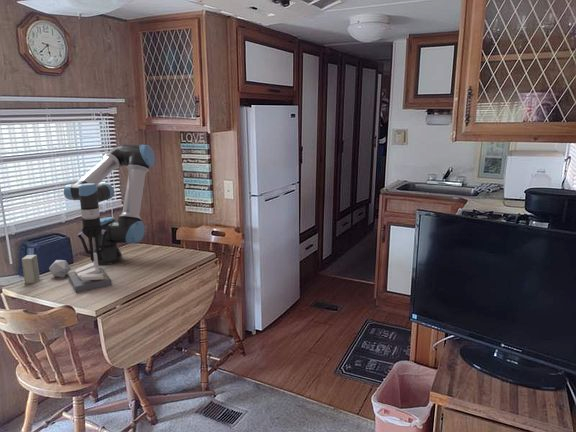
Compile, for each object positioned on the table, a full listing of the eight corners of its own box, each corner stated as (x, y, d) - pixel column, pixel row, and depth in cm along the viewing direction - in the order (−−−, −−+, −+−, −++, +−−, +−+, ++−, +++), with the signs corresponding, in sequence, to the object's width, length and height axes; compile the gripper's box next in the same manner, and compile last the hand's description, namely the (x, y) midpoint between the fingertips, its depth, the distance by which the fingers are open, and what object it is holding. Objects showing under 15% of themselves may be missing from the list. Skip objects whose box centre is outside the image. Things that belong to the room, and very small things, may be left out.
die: (55, 281, 206) (66, 264, 206) (42, 271, 207) (53, 254, 208) (66, 281, 214) (77, 265, 214) (53, 272, 215) (64, 255, 216)
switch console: (68, 279, 207) (67, 271, 206) (102, 272, 215) (101, 265, 215) (75, 293, 190) (74, 285, 189) (111, 285, 198) (111, 277, 198)
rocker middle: (77, 276, 201) (76, 273, 201) (97, 269, 206) (97, 266, 206) (79, 278, 198) (78, 276, 197) (99, 271, 202) (98, 269, 202)
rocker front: (80, 277, 195) (80, 274, 195) (101, 276, 201) (101, 273, 200) (81, 280, 192) (82, 277, 192) (103, 279, 197) (103, 276, 197)
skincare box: (30, 279, 208) (27, 254, 205) (40, 278, 208) (37, 254, 206) (24, 283, 202) (20, 258, 199) (34, 283, 202) (31, 258, 200)
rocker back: (75, 272, 207) (74, 269, 207) (94, 264, 212) (93, 262, 211) (77, 275, 204) (76, 272, 203) (96, 267, 208) (95, 264, 207)
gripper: (76, 220, 191) (82, 271, 196) (107, 217, 199) (112, 266, 204) (73, 217, 198) (79, 267, 203) (104, 214, 205) (109, 262, 210)
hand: (96, 266), depth 203 cm, fingers closed
